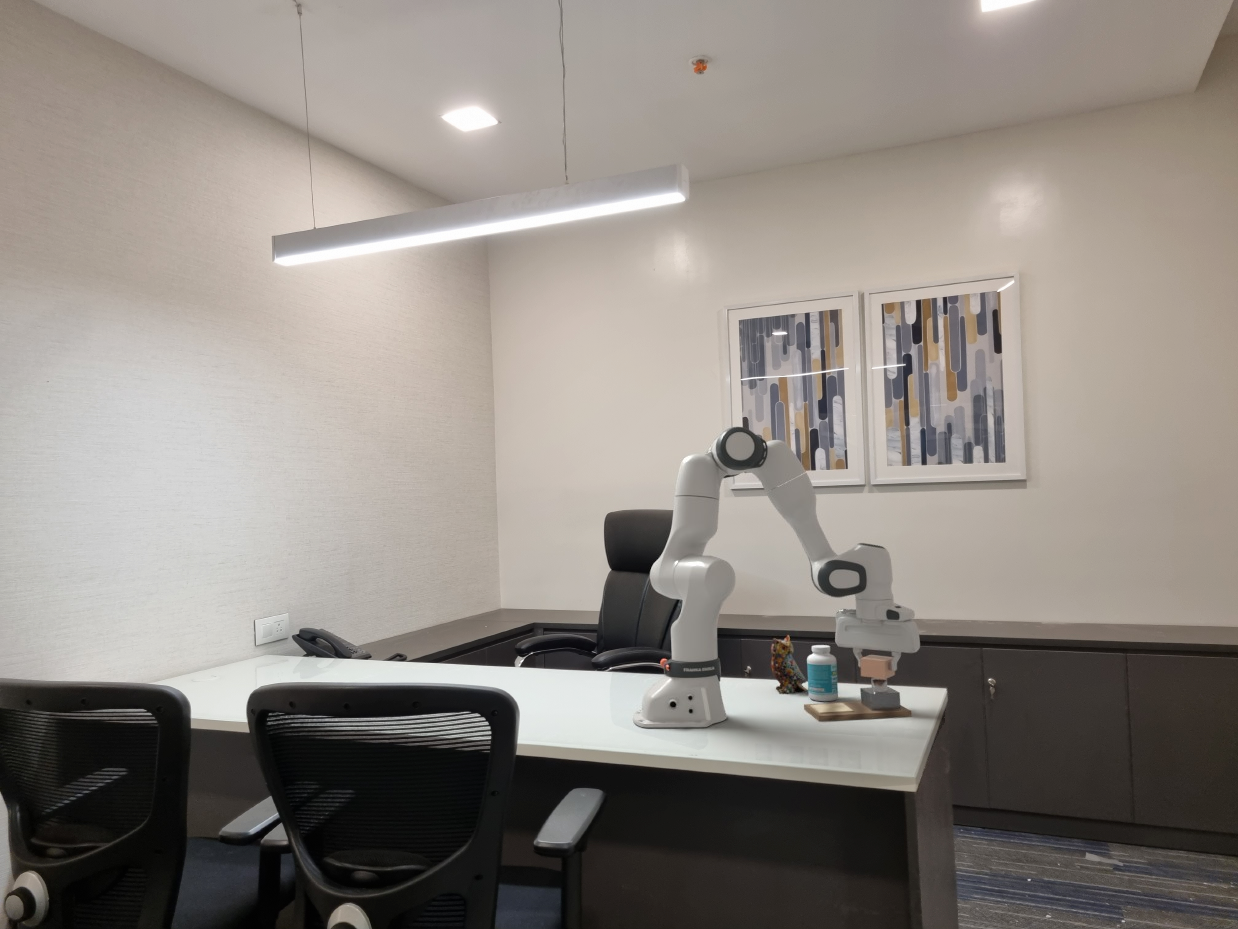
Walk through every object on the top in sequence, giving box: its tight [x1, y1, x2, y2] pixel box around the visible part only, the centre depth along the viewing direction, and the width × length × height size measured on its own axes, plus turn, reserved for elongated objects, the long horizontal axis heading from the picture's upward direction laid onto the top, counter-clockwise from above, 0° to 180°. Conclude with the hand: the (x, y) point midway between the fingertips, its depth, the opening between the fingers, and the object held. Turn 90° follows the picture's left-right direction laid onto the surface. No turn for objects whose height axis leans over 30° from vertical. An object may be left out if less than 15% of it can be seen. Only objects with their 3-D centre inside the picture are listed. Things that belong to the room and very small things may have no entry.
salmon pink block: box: [860, 654, 896, 680], centre depth 200 cm, size 6×6×4 cm
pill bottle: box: [806, 644, 839, 702], centre depth 215 cm, size 8×7×14 cm
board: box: [803, 700, 912, 722], centre depth 199 cm, size 22×12×2 cm, turn 94°
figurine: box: [770, 634, 808, 695], centre depth 226 cm, size 9×9×15 cm
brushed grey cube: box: [859, 677, 901, 710], centre depth 200 cm, size 7×7×6 cm
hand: (877, 668), depth 200 cm, fingers closed on salmon pink block, 6 cm apart
